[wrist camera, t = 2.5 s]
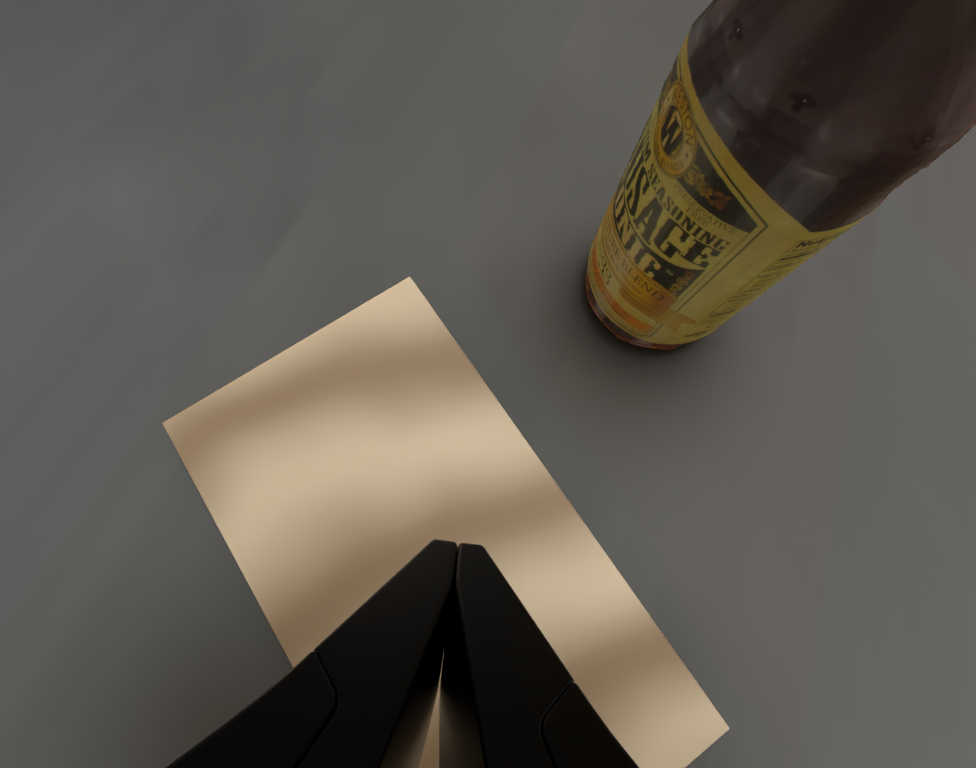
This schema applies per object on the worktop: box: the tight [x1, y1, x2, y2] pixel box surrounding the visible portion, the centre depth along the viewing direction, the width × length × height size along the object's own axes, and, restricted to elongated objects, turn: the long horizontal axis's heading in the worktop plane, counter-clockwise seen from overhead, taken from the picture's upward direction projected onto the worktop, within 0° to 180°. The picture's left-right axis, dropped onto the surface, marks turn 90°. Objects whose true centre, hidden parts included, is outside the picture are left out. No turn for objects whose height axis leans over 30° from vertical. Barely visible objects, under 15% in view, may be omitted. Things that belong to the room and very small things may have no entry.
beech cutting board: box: [163, 277, 730, 768], centre depth 19 cm, size 20×11×1 cm, turn 34°
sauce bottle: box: [585, 0, 976, 350], centre depth 14 cm, size 6×6×20 cm
